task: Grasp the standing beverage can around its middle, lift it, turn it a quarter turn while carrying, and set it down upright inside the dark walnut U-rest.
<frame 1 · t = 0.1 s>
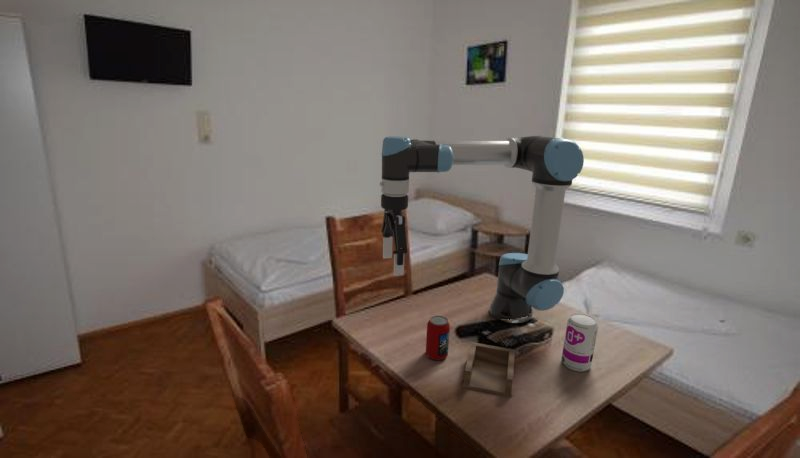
hand: (392, 266, 124), 28 cm above the table, fingers open, 13 cm apart
beverage can: (436, 355, 130), on the table
walnut U-rest: (489, 375, 121), on the table
supplement can: (575, 365, 128), on the table
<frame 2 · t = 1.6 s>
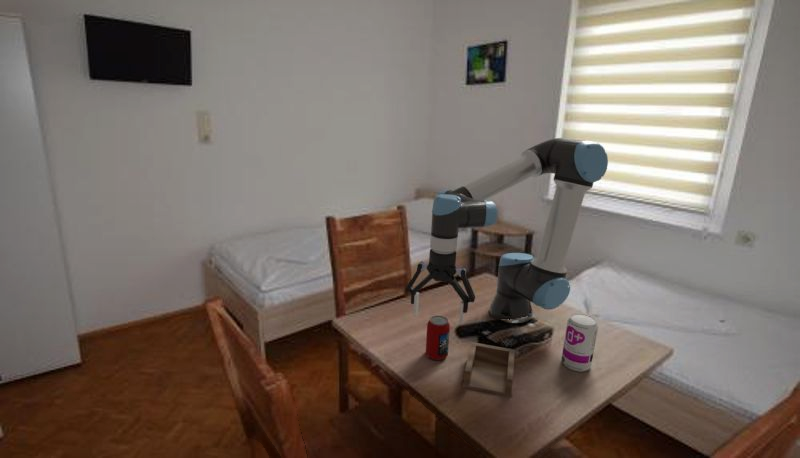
hand: (437, 318, 127), 13 cm above the table, fingers open, 13 cm apart
nothing on the table moved.
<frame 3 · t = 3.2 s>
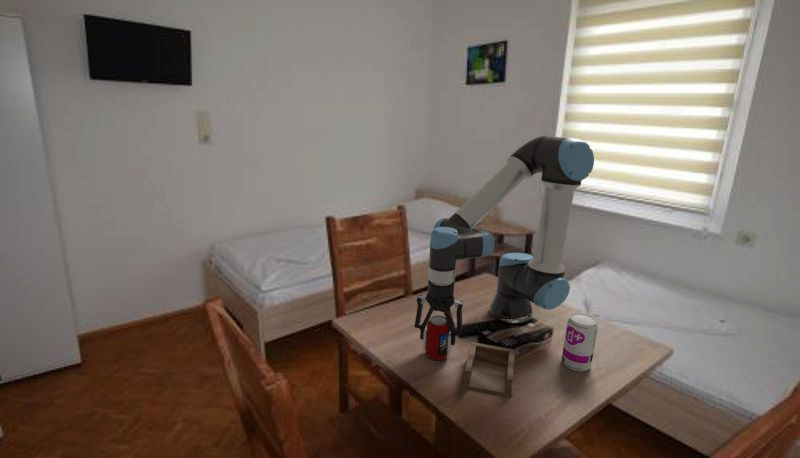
hand: (436, 350, 130), 2 cm above the table, fingers closed on beverage can, 7 cm apart
beverage can: (436, 355, 130), on the table, touching gripper
everything else where it was.
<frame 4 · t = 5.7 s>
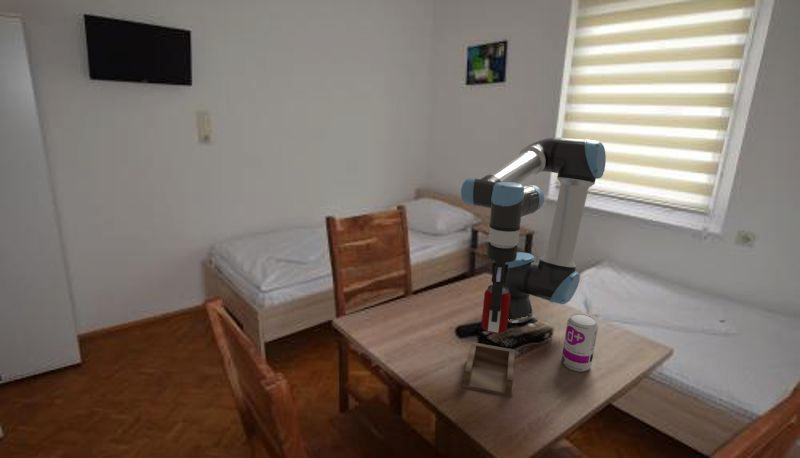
hand: (494, 324, 116), 17 cm above the table, fingers closed on beverage can, 7 cm apart
beverage can: (493, 330, 116), point 15 cm above the table, touching gripper
everything else where it was.
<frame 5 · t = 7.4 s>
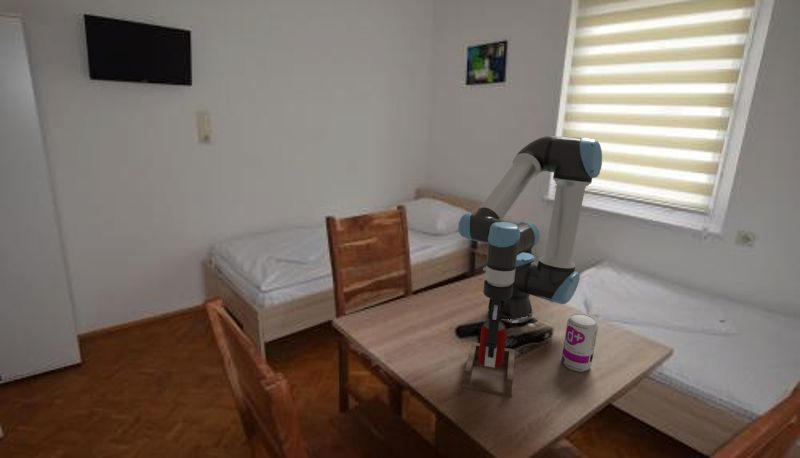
hand: (490, 358, 119), 6 cm above the table, fingers closed on beverage can, 7 cm apart
beverage can: (490, 363, 119), point 5 cm above the table, touching gripper
everything else where it was.
when the fingers open (4 cm above the table, at t = 8.3 s): beverage can drops 1 cm, resting on walnut U-rest.
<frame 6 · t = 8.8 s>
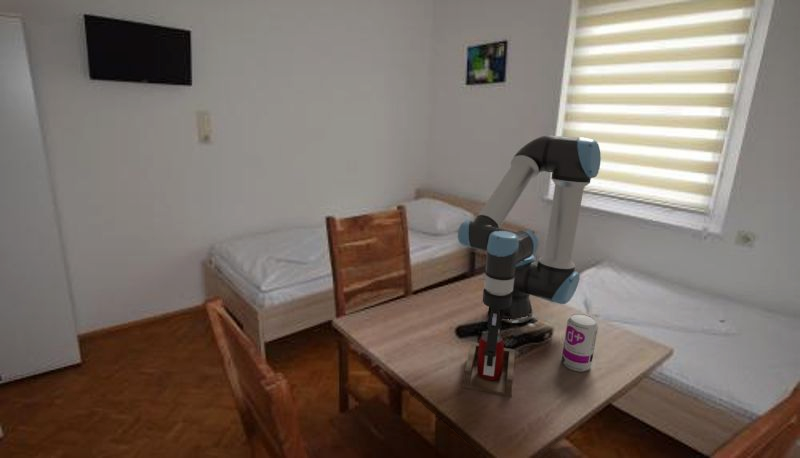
hand: (490, 360, 119), 5 cm above the table, fingers open, 13 cm apart
beverage can: (489, 375, 120), point 1 cm above the table, touching walnut U-rest
everything else where it was.
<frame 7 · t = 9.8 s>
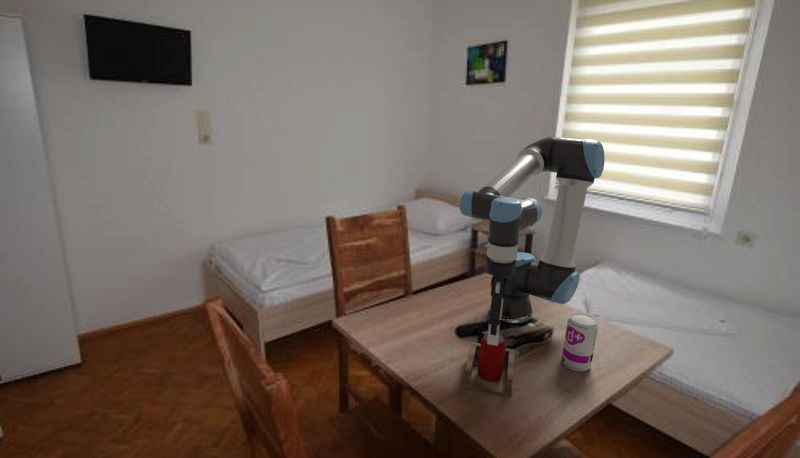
hand: (494, 331, 117), 14 cm above the table, fingers open, 13 cm apart
nothing on the table moved.
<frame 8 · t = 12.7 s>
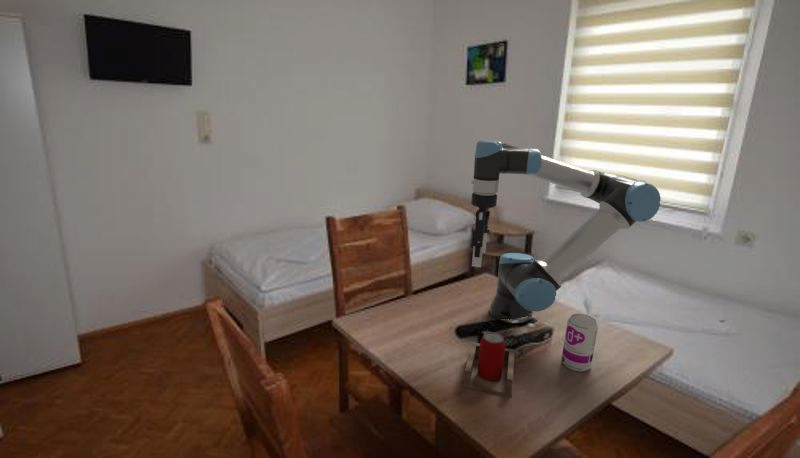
hand: (478, 259, 135), 27 cm above the table, fingers open, 13 cm apart
nothing on the table moved.
at the end: beverage can inside the target area on the walnut U-rest (0.3 cm from its centre), point 0.6 cm above the walnut U-rest's base; beverage can tilted 0°; the gripper is holding nothing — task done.
